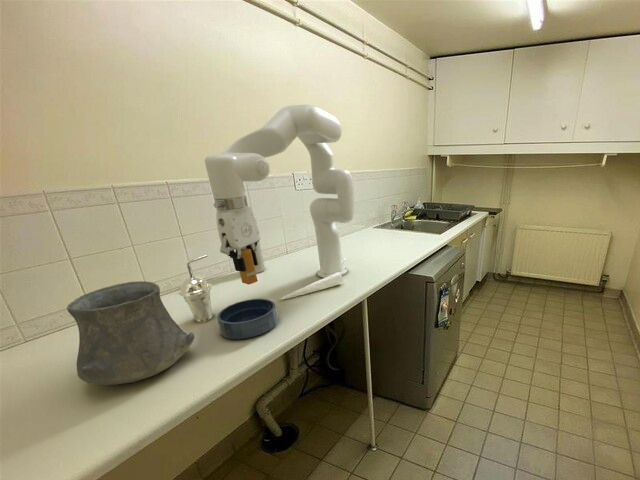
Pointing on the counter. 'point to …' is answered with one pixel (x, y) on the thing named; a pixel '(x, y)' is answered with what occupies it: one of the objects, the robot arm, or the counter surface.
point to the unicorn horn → (318, 285)
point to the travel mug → (259, 259)
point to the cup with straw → (197, 295)
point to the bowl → (247, 318)
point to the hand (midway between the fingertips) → (247, 267)
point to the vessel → (125, 334)
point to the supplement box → (248, 267)
